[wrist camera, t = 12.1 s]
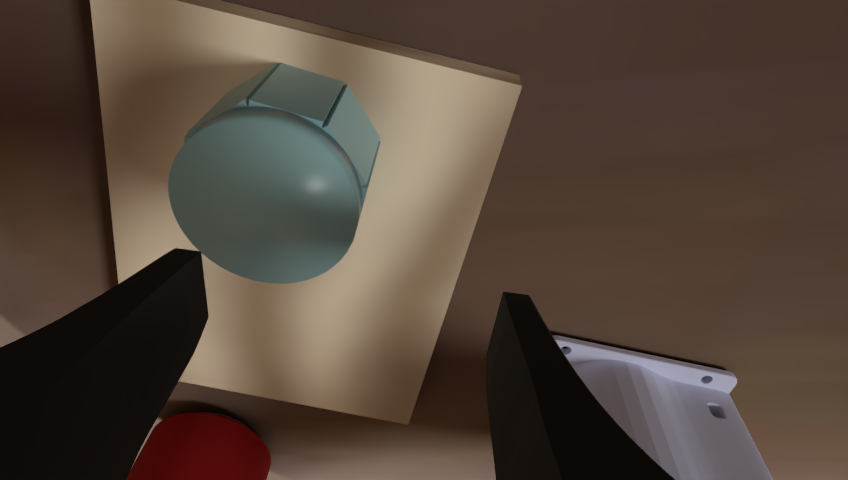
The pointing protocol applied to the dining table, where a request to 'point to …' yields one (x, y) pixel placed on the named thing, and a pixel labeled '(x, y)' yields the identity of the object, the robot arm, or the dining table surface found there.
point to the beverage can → (202, 450)
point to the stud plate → (381, 214)
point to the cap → (276, 176)
